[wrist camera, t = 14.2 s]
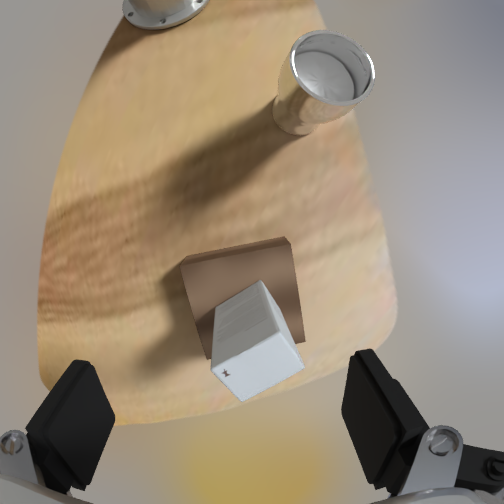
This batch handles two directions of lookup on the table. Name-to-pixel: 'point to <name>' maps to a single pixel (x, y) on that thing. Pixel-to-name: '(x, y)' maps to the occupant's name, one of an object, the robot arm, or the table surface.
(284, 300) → the walnut block
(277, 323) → the skincare box
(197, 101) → the table surface
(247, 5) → the table surface
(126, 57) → the table surface
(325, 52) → the beer glass
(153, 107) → the table surface
